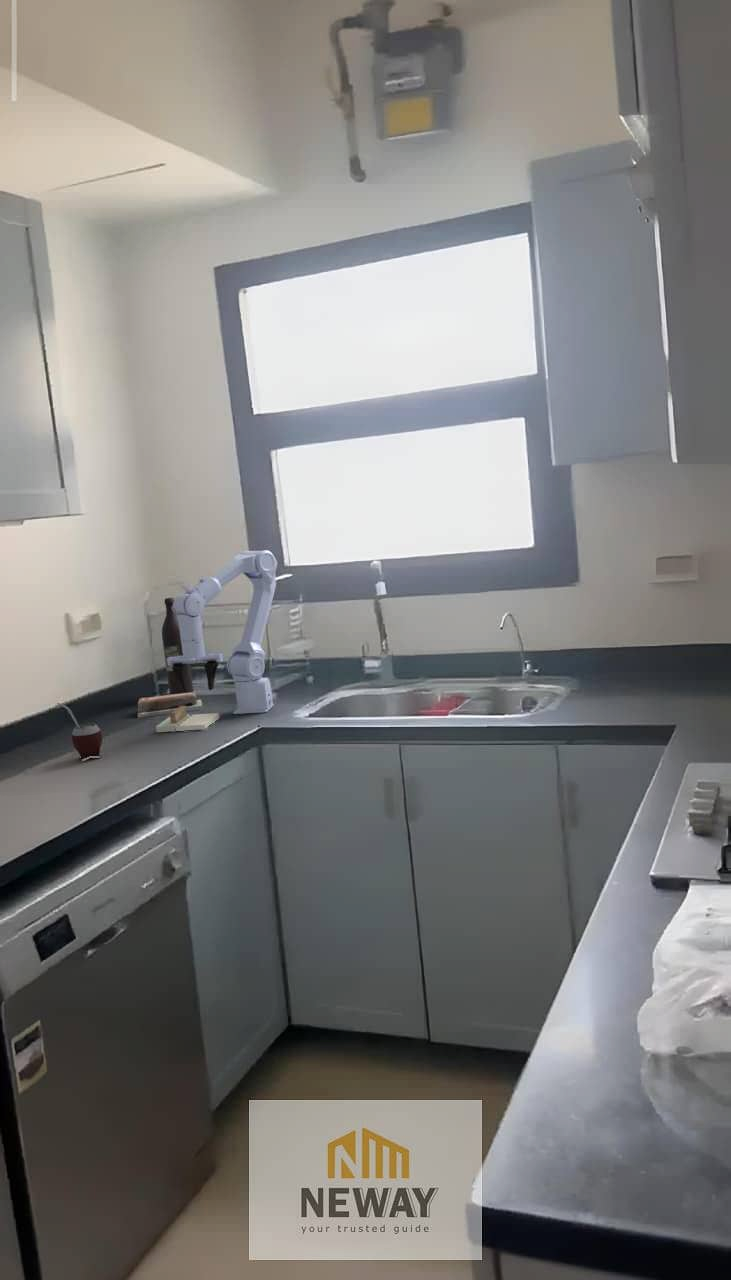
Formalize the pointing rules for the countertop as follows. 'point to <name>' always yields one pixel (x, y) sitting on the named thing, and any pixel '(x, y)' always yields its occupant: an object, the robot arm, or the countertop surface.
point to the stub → (172, 720)
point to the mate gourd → (85, 738)
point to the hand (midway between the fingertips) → (198, 690)
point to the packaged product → (167, 704)
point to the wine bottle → (173, 649)
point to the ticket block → (197, 721)
